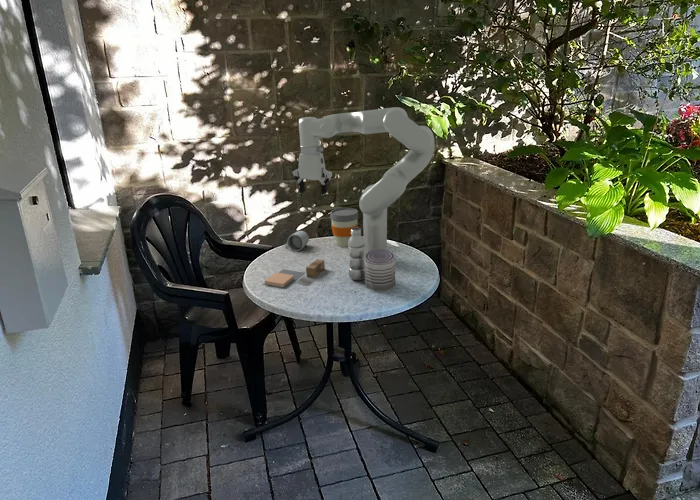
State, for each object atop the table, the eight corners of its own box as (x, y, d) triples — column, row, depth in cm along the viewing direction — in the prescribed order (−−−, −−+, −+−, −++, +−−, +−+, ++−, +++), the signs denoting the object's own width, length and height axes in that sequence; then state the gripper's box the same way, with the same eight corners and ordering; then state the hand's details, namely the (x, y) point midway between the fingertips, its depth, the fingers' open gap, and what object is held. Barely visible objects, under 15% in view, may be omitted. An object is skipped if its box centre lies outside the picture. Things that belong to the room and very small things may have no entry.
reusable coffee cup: (325, 244, 222) (324, 212, 217) (344, 236, 231) (343, 206, 225) (346, 250, 214) (345, 217, 209) (364, 242, 223) (364, 210, 218)
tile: (294, 275, 187) (283, 283, 180) (294, 279, 187) (283, 287, 180) (275, 272, 190) (264, 280, 183) (276, 276, 190) (264, 284, 184)
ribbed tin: (400, 281, 184) (400, 251, 179) (388, 294, 174) (388, 263, 170) (372, 276, 189) (372, 247, 184) (359, 288, 179) (358, 258, 175)
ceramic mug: (310, 245, 222) (309, 229, 219) (303, 251, 215) (302, 235, 212) (289, 243, 225) (287, 228, 222) (281, 250, 218) (279, 234, 215)
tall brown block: (314, 268, 197) (313, 258, 196) (327, 271, 195) (327, 260, 193) (294, 285, 184) (293, 274, 182) (308, 287, 181) (307, 276, 180)
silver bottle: (357, 273, 191) (355, 225, 184) (369, 278, 187) (368, 228, 179) (345, 278, 187) (343, 229, 180) (357, 284, 183) (356, 233, 175)
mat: (306, 274, 192) (305, 272, 192) (286, 290, 180) (286, 288, 180) (283, 270, 197) (283, 269, 196) (262, 285, 184) (262, 284, 184)
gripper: (334, 149, 190) (336, 192, 197) (295, 147, 197) (298, 189, 203) (326, 152, 184) (328, 197, 190) (286, 150, 191) (289, 193, 197)
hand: (313, 193), depth 197 cm, fingers open, 9 cm apart
